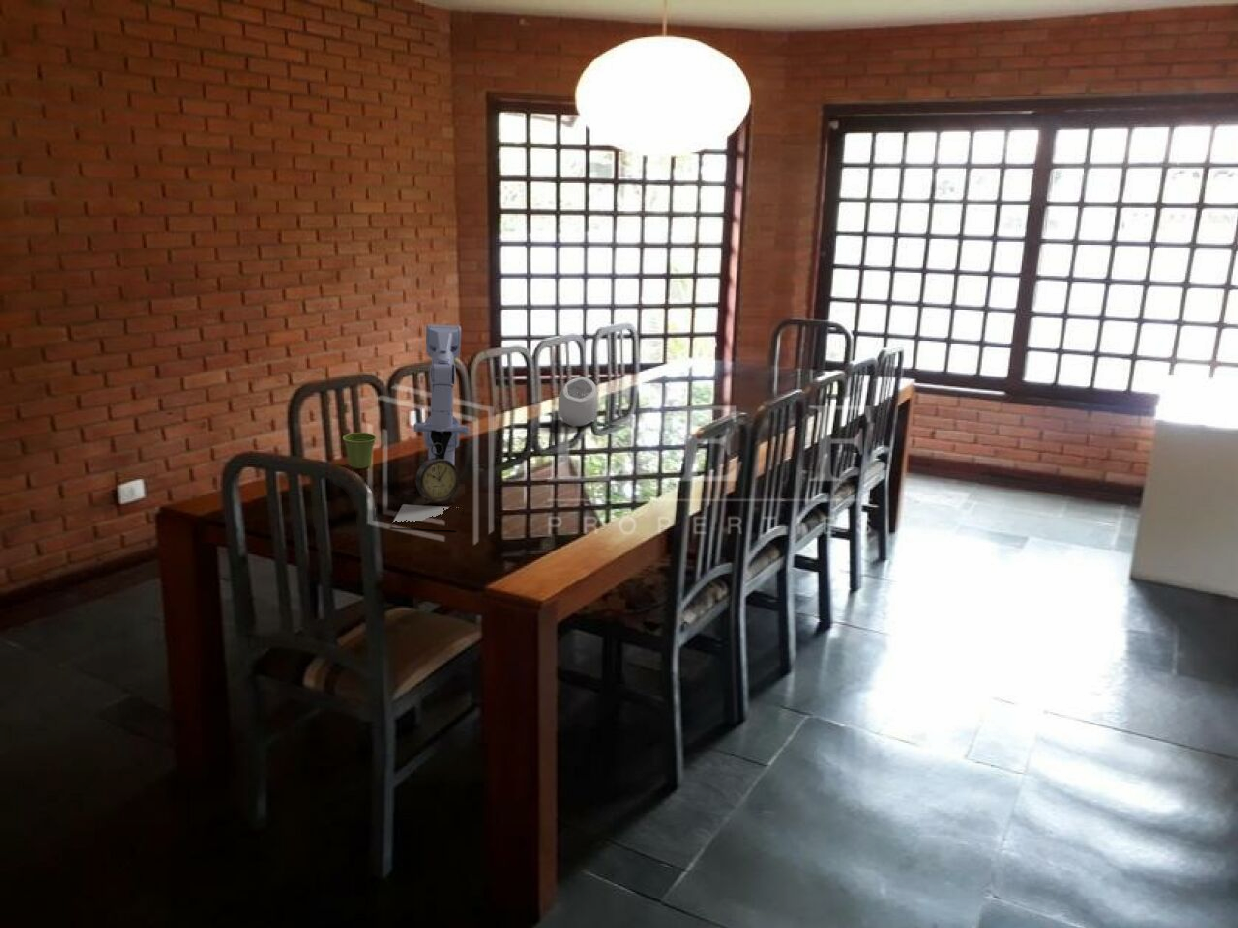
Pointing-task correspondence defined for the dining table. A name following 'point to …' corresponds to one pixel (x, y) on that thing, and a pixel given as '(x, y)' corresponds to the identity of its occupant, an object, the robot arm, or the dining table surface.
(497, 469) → the dining table surface
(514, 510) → the dining table surface
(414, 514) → the mat
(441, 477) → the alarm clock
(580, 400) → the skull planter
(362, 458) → the plant pot
